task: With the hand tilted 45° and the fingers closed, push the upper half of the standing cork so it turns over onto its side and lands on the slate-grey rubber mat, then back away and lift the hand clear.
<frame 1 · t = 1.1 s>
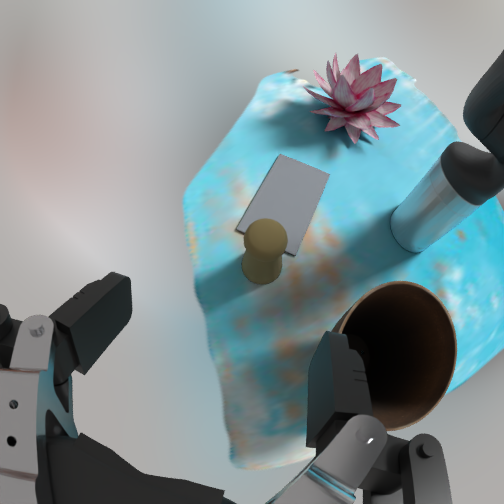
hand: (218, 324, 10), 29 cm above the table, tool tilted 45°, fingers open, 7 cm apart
plant pot: (347, 358, 36), on the table
decorative flower: (345, 121, 54), on the table
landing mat: (287, 199, 45), on the table
cork: (261, 265, 41), on the table
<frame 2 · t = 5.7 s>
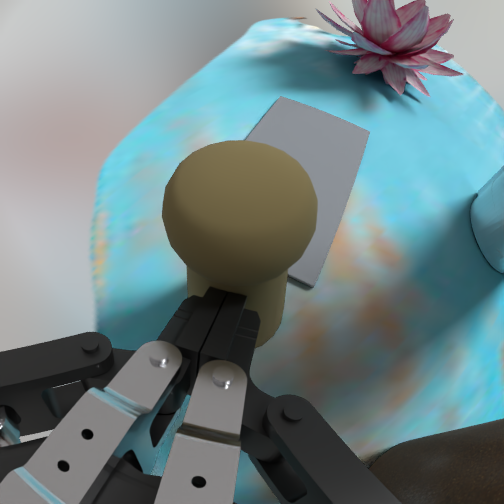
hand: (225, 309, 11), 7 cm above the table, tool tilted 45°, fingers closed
plant pot: (399, 479, 12), on the table
decorative flower: (378, 71, 31), on the table
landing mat: (294, 168, 22), on the table
cork: (235, 306, 17), on the table
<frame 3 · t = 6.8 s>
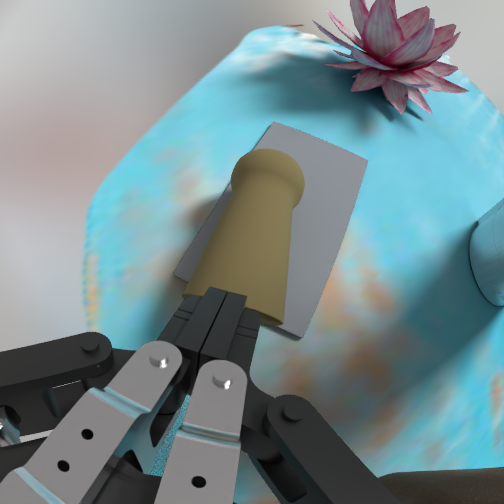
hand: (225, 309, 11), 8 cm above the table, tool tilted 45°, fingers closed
decorative flower: (378, 85, 30), on the table
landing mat: (286, 208, 21), on the table
cork: (230, 315, 15), point 3 cm above the table, touching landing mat
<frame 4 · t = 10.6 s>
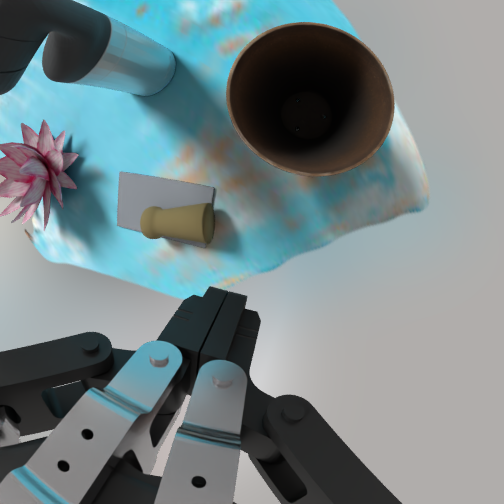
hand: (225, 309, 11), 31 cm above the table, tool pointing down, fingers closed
plant pot: (306, 114, 34), on the table
decorative flower: (58, 168, 44), on the table
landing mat: (160, 207, 43), on the table
cork: (210, 223, 39), point 3 cm above the table, touching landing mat
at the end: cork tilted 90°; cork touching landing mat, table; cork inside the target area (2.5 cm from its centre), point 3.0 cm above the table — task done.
